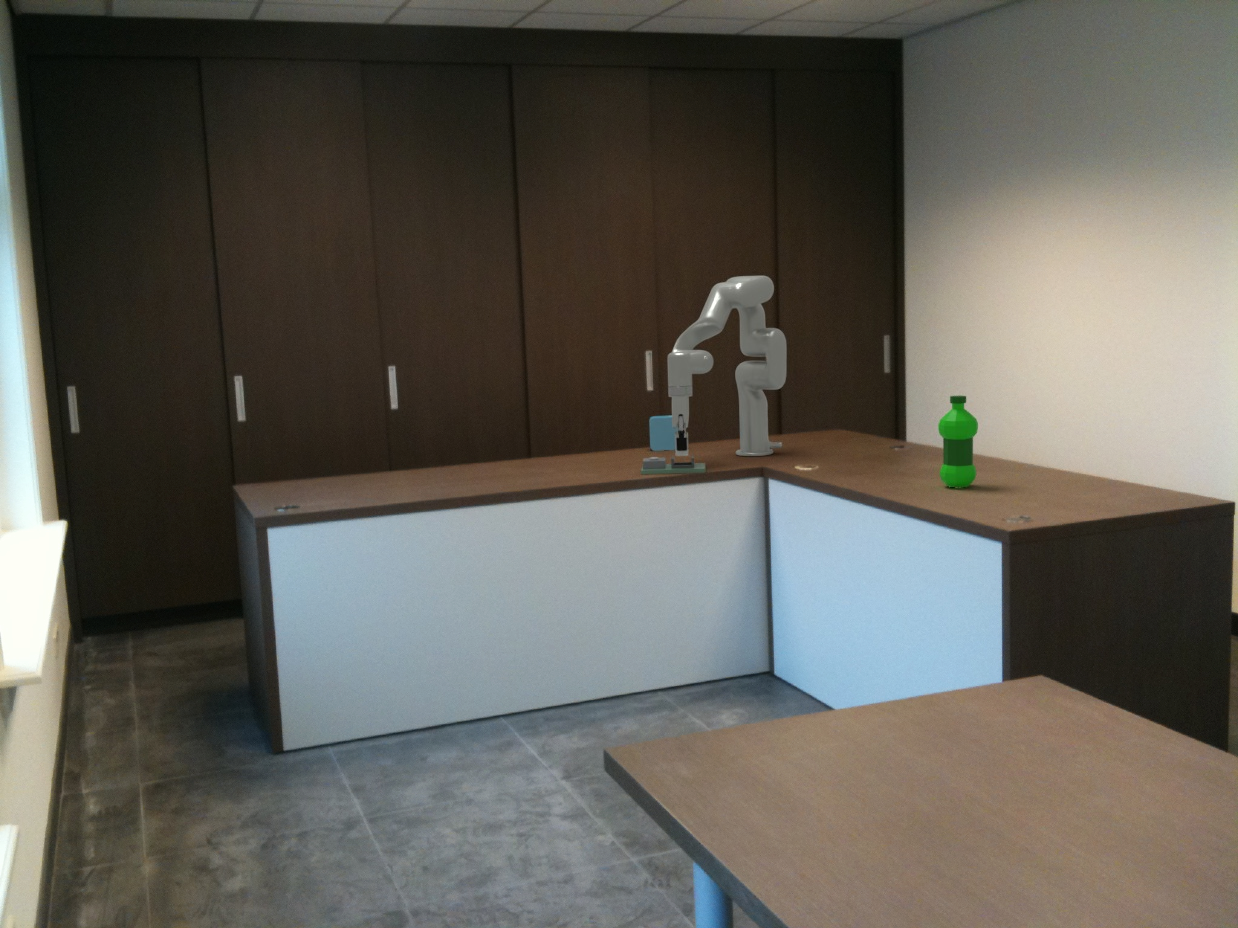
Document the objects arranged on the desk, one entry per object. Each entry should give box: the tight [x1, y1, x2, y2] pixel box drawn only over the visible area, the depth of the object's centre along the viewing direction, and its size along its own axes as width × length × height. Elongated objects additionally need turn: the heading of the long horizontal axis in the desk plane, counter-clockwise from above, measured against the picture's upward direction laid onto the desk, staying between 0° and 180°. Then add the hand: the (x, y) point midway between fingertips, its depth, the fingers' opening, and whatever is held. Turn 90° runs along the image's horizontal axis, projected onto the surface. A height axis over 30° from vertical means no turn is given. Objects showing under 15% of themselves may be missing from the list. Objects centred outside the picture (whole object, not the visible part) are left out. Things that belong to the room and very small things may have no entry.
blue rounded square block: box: [648, 414, 677, 452], centre depth 432 cm, size 12×4×12 cm, turn 90°
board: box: [640, 454, 706, 475], centre depth 384 cm, size 20×12×4 cm, turn 87°
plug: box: [674, 431, 689, 457], centre depth 383 cm, size 4×4×7 cm
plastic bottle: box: [937, 395, 979, 488], centre depth 333 cm, size 10×10×25 cm
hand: (681, 449), depth 383 cm, fingers closed on plug, 4 cm apart
